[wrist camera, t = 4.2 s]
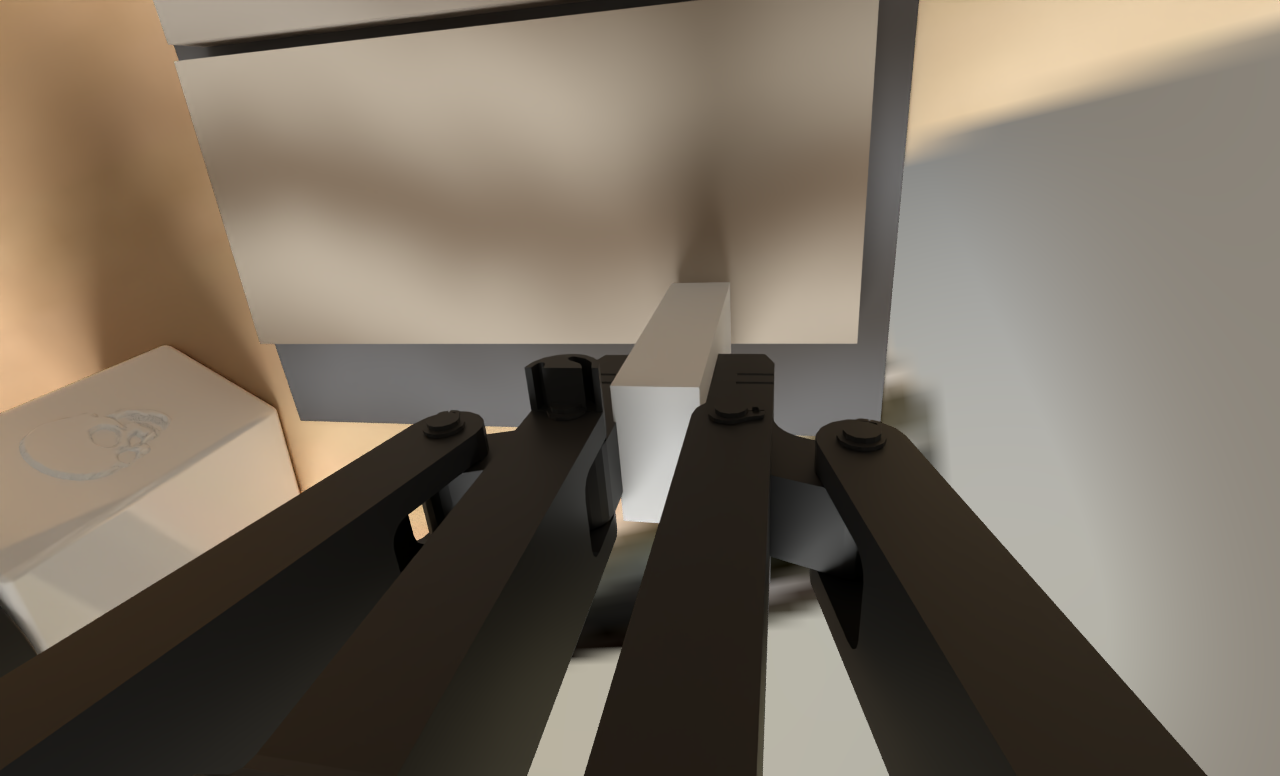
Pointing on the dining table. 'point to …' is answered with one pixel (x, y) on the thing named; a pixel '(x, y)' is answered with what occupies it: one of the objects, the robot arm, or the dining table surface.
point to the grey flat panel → (495, 375)
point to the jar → (125, 489)
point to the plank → (549, 174)
